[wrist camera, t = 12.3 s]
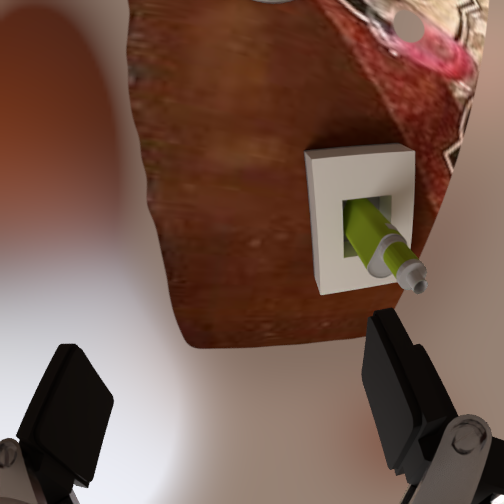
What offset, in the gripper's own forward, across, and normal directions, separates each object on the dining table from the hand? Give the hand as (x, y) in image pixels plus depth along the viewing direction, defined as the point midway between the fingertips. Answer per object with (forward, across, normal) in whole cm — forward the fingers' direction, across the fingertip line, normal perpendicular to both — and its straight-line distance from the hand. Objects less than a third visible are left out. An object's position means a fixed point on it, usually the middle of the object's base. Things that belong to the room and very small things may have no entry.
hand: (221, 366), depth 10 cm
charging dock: (+36, -16, +12) cm, 41 cm away
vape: (+36, -15, +12) cm, 40 cm away
